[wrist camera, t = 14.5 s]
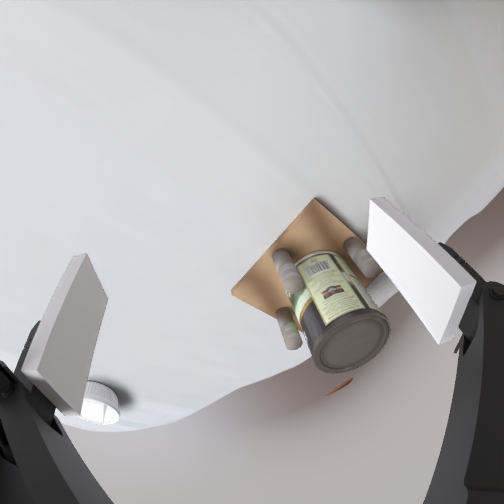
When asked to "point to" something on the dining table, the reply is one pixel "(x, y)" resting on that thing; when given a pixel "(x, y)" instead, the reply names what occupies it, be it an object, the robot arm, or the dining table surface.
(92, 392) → the ramekin
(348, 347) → the coffee can
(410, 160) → the dining table surface
